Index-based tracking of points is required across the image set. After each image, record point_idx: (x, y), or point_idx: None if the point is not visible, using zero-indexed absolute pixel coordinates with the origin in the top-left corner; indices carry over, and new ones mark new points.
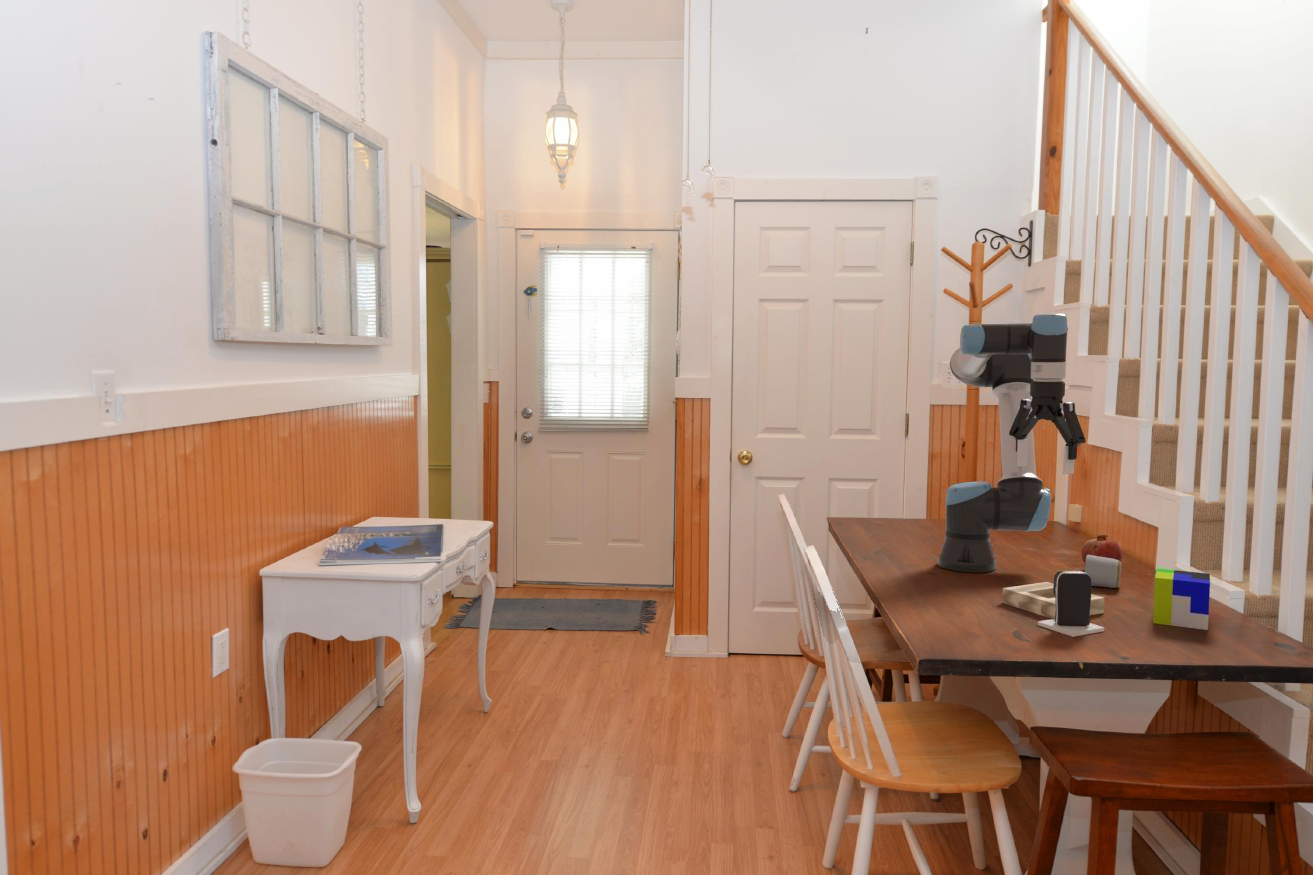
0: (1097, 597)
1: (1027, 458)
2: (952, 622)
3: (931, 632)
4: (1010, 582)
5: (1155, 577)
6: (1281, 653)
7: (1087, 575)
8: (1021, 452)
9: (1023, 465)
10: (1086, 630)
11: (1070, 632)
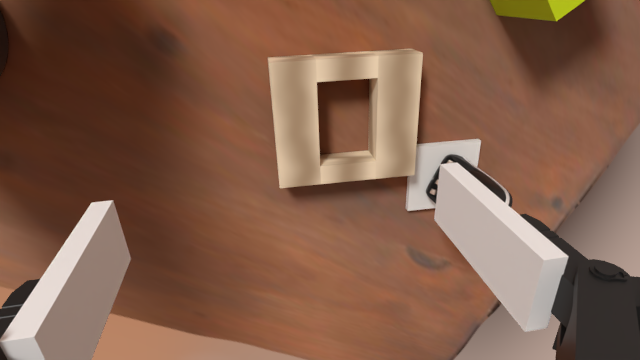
0: (414, 65)
1: (97, 227)
2: (339, 303)
3: (363, 343)
4: (128, 40)
5: (556, 18)
6: None
7: (511, 204)
8: (100, 308)
9: (120, 231)
10: None
11: None
